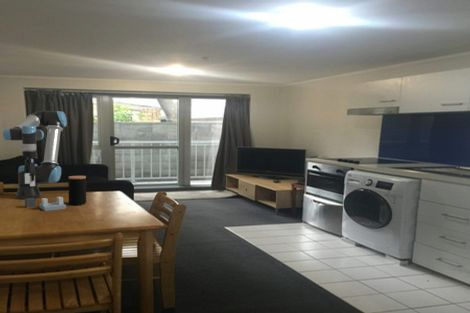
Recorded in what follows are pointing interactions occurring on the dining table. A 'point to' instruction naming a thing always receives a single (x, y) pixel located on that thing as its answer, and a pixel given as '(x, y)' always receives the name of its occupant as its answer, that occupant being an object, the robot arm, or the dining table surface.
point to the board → (52, 204)
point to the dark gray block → (30, 202)
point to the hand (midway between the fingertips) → (29, 184)
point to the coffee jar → (77, 190)
